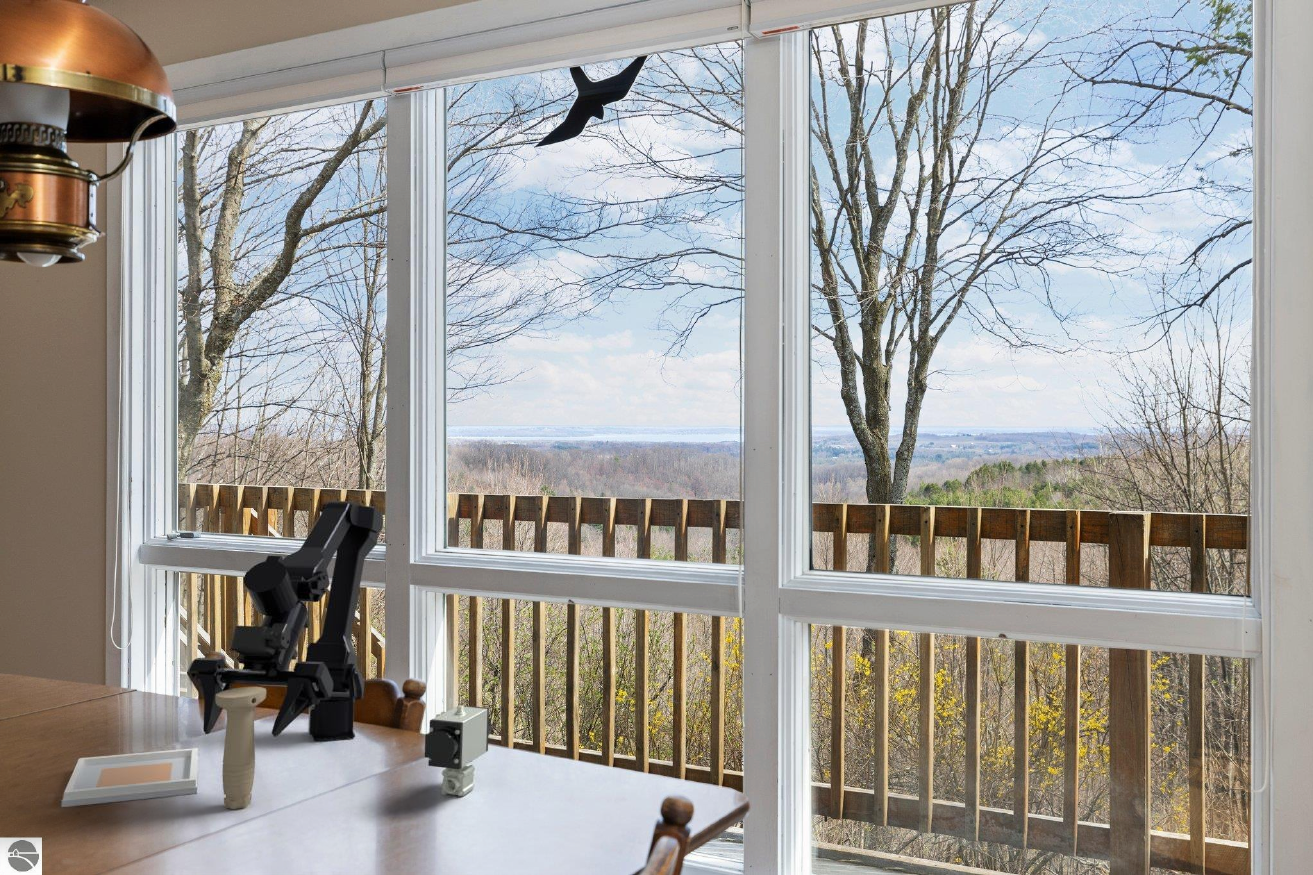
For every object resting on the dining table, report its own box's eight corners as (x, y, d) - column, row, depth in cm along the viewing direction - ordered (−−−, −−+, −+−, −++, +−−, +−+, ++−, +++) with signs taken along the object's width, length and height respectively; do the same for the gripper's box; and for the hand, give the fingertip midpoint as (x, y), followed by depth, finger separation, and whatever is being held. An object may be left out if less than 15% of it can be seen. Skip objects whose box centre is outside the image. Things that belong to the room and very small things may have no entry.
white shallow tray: (199, 759, 150) (199, 747, 150) (196, 793, 136) (197, 779, 136) (77, 770, 144) (77, 757, 144) (61, 807, 129) (62, 793, 129)
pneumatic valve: (491, 781, 144) (493, 697, 144) (453, 808, 133) (456, 717, 133) (456, 776, 145) (458, 694, 146) (416, 803, 134) (419, 713, 134)
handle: (204, 810, 130) (208, 694, 130) (244, 795, 135) (248, 684, 136) (229, 816, 127) (233, 699, 128) (270, 801, 133) (273, 689, 133)
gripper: (196, 599, 138) (148, 698, 126) (328, 603, 137) (292, 703, 125) (221, 646, 145) (179, 743, 134) (347, 650, 144) (314, 748, 133)
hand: (239, 733), depth 132 cm, fingers open, 9 cm apart
